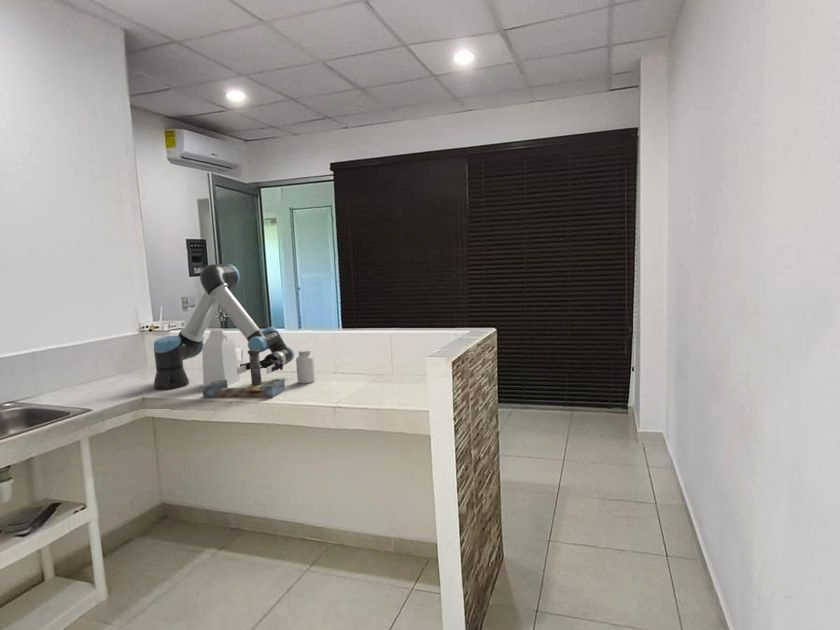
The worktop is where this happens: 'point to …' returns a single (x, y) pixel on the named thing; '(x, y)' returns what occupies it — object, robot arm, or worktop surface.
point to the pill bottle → (305, 367)
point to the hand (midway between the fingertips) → (252, 371)
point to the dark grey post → (255, 372)
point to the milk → (219, 359)
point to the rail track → (242, 390)
